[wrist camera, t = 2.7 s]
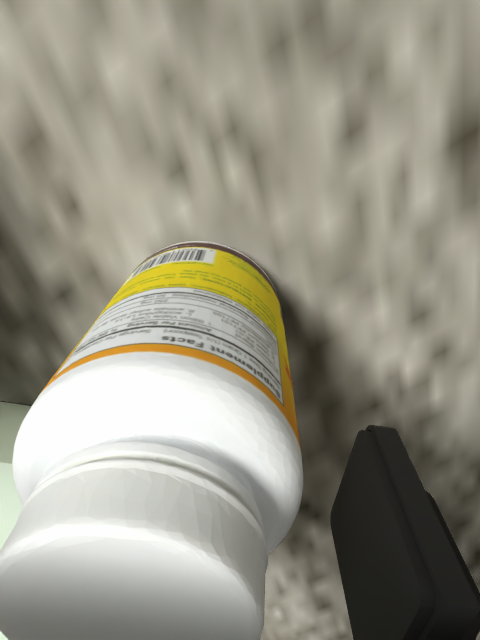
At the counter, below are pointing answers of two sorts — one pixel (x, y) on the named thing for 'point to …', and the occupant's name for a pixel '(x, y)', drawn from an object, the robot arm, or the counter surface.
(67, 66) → the counter surface
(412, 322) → the counter surface
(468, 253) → the counter surface
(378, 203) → the counter surface
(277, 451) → the supplement bottle
